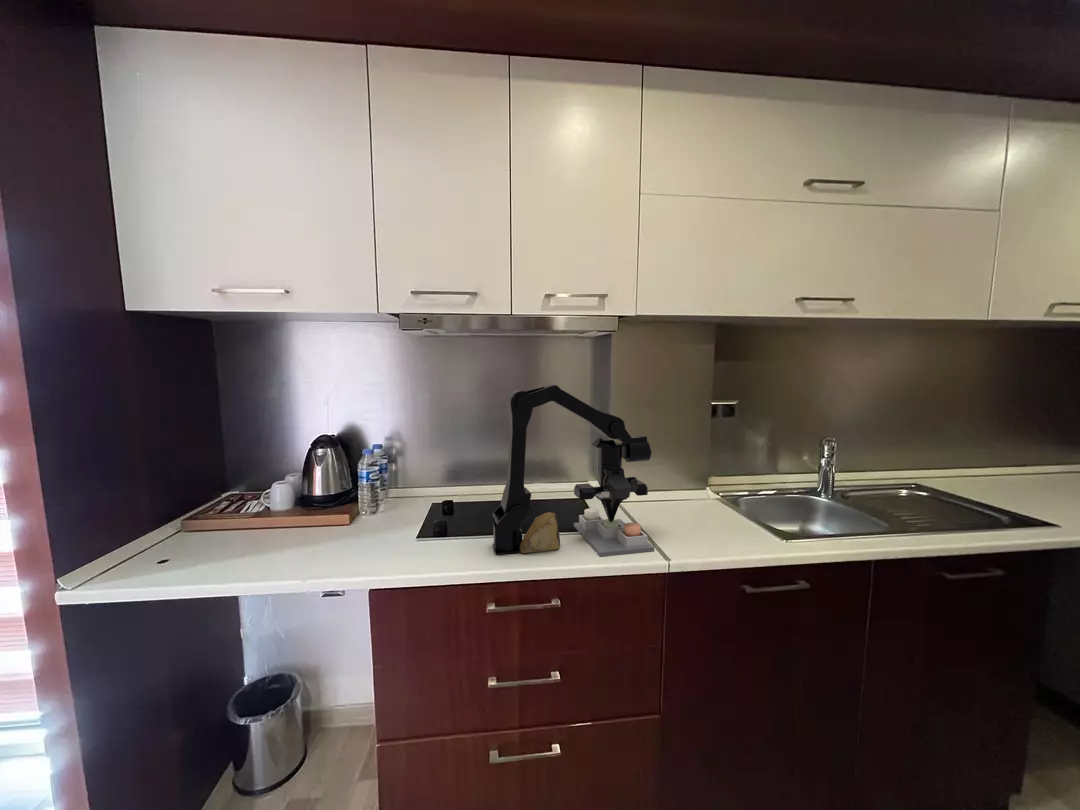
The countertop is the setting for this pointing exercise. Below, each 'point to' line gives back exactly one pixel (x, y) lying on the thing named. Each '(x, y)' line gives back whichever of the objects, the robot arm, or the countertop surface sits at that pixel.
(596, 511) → the cream button
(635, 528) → the terracotta button
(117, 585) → the countertop surface
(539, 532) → the rock
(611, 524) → the sage button
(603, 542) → the panel
